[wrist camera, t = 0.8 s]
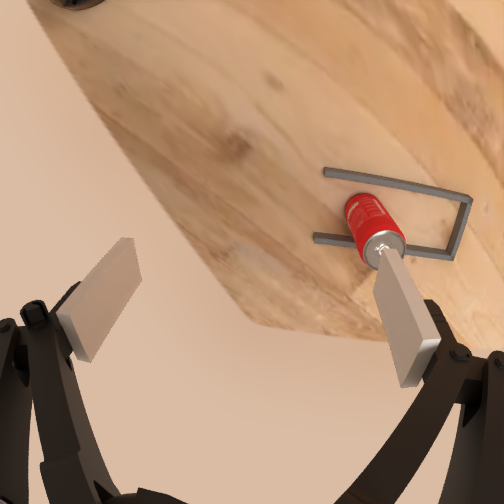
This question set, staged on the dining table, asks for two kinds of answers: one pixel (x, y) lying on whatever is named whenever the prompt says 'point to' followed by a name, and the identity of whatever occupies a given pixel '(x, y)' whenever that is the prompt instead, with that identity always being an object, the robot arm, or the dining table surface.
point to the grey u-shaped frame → (410, 186)
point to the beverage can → (373, 229)
